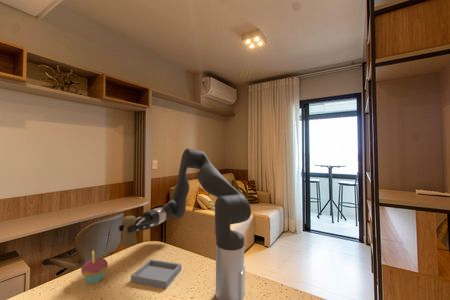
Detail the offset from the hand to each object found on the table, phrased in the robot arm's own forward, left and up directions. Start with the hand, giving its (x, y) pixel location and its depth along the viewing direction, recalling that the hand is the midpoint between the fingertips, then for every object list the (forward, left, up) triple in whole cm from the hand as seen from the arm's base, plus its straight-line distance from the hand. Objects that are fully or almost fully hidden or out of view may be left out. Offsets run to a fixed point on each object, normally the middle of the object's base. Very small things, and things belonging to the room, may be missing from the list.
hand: (123, 229), depth 85 cm
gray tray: (-15, 0, -16) cm, 22 cm away
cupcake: (+6, +8, -16) cm, 19 cm away
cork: (-1, -3, -7) cm, 7 cm away
